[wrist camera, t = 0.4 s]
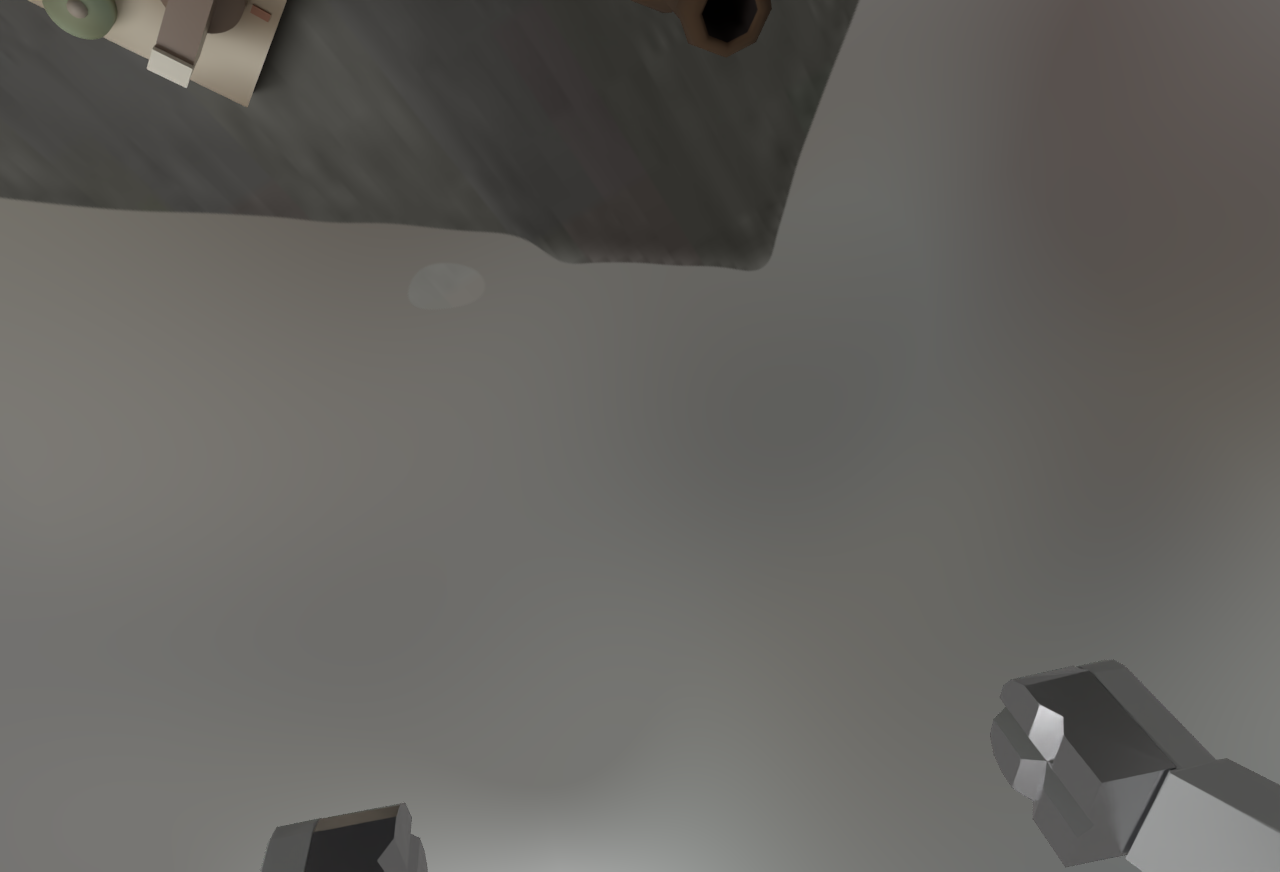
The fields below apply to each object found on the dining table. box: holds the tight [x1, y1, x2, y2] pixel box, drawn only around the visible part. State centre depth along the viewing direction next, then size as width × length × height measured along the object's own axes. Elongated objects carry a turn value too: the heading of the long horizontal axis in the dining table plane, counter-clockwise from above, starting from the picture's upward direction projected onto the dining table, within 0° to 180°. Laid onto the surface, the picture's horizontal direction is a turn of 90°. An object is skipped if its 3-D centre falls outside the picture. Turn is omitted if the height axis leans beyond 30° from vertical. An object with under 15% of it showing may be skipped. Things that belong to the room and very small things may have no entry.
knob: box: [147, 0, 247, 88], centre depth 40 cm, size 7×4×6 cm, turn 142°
